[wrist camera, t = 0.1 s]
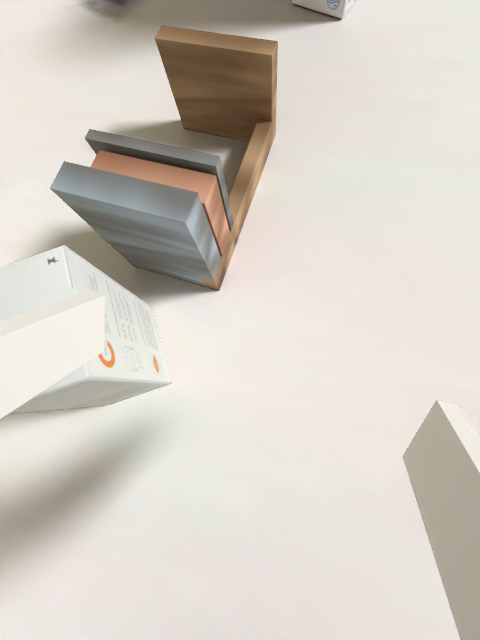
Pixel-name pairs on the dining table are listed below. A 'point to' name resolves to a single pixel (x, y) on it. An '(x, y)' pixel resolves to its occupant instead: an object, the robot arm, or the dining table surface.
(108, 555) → the dining table surface
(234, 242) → the book rack
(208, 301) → the dining table surface
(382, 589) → the dining table surface
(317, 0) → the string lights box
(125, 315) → the small box
